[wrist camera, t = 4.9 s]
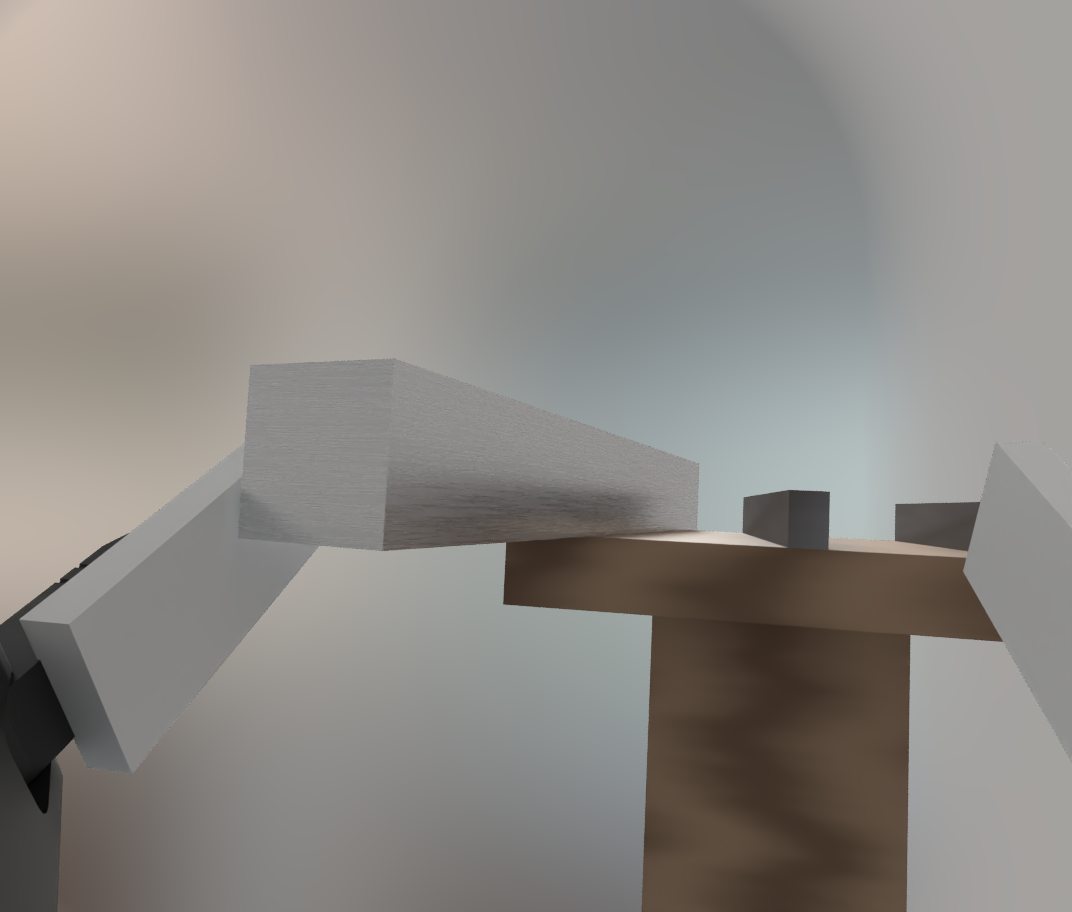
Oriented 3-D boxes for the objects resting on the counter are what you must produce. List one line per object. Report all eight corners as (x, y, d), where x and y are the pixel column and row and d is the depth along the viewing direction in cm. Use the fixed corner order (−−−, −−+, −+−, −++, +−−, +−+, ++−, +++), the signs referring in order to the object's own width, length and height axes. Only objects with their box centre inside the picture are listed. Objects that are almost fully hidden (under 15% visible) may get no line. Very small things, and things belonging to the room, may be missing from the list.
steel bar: (237, 538, 12) (250, 365, 13) (633, 525, 34) (635, 462, 34) (383, 551, 11) (394, 358, 11) (696, 529, 33) (698, 463, 33)
